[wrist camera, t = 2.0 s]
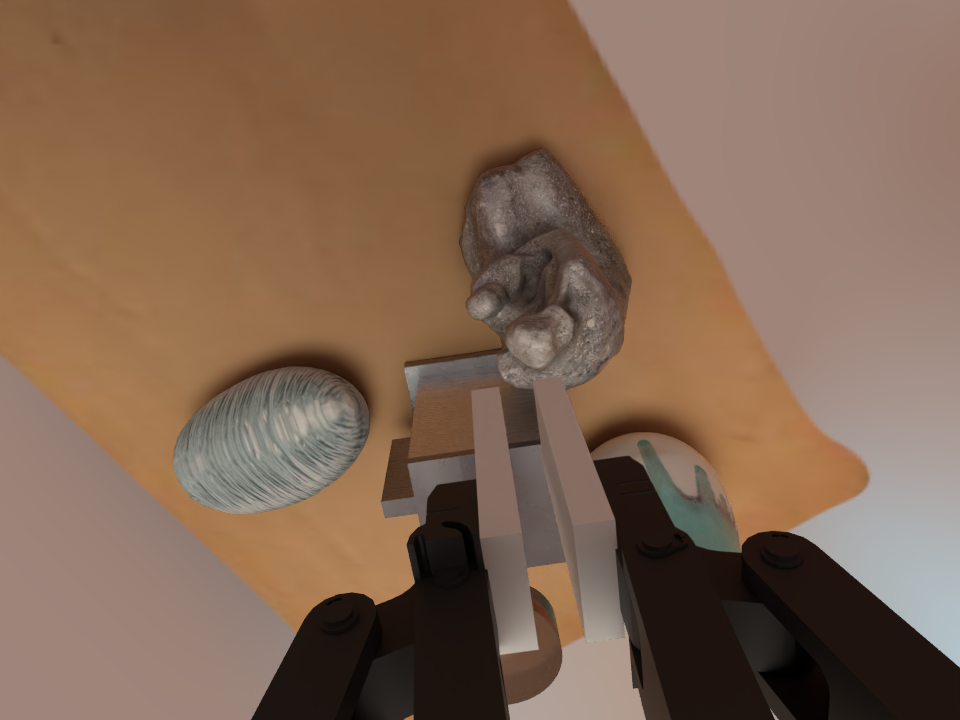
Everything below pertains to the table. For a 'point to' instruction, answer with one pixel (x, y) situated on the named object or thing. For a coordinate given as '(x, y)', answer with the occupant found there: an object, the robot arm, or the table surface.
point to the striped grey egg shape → (271, 440)
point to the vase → (681, 486)
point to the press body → (469, 447)
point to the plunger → (534, 656)
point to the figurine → (543, 273)
